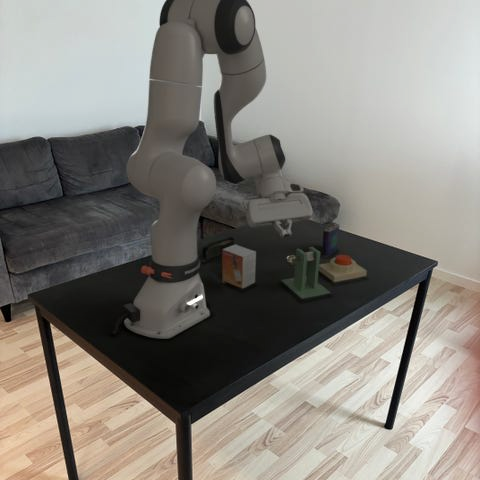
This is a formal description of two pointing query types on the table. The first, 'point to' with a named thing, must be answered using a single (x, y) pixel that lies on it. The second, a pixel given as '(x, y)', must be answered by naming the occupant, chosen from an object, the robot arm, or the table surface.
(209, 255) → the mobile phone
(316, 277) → the switch bracket
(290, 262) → the lever
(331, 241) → the flask
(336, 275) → the button housing
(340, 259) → the button
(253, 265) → the small box
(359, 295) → the table surface
